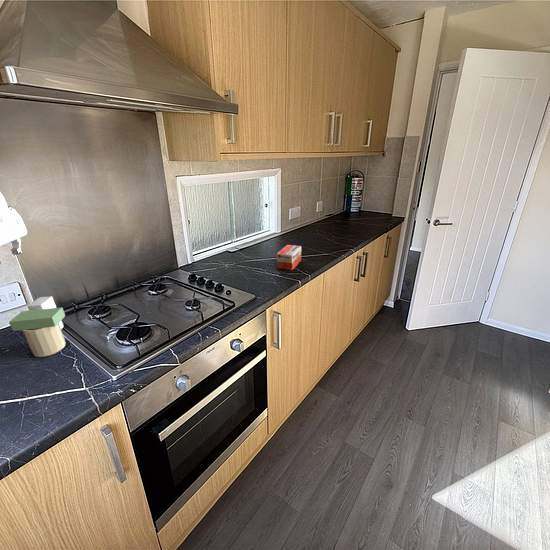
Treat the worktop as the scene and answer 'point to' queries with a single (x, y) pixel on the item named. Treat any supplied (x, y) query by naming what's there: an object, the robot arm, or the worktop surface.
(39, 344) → the cup
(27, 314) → the green flat block
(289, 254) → the medicine box
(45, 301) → the cosmetic box
